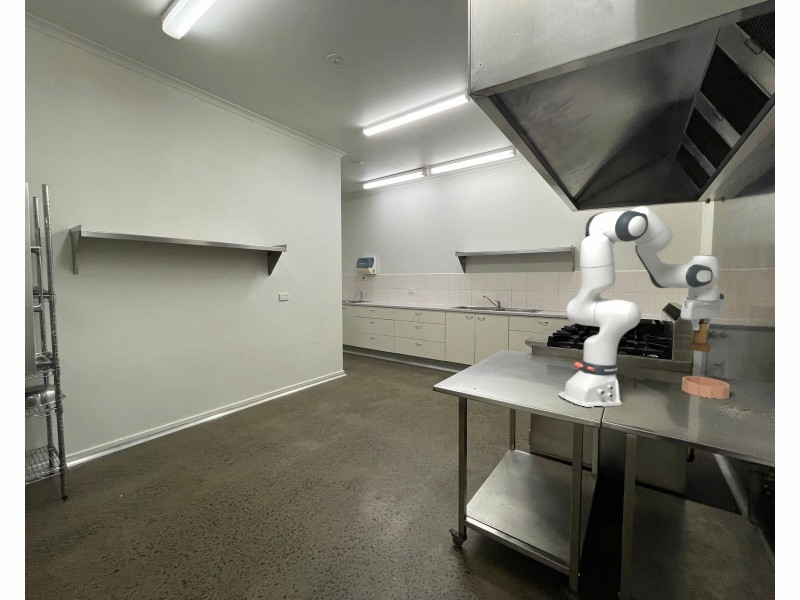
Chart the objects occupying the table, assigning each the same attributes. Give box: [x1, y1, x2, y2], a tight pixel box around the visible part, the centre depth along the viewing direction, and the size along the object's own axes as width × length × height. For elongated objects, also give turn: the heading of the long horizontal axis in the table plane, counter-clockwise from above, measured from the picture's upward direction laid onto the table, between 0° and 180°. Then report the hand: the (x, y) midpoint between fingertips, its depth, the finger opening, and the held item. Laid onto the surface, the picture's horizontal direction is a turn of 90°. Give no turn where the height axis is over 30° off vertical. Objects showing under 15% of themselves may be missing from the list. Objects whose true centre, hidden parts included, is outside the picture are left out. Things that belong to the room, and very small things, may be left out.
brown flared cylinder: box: [688, 319, 711, 353], centre depth 134 cm, size 7×6×18 cm
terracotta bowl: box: [681, 375, 731, 400], centre depth 134 cm, size 14×14×4 cm
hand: (700, 329), depth 134 cm, fingers closed on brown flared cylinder, 4 cm apart
